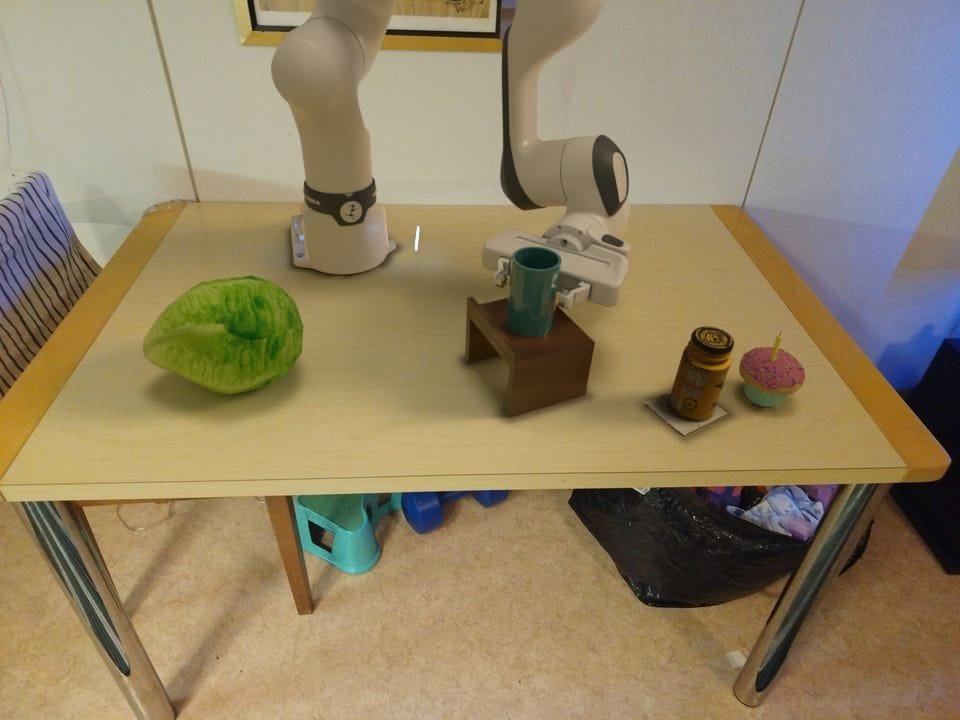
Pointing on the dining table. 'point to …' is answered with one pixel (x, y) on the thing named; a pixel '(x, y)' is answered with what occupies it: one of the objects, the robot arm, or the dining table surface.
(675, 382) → the condiment
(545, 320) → the cup
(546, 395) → the shelf
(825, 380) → the dining table surface
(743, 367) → the cupcake
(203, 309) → the lettuce
